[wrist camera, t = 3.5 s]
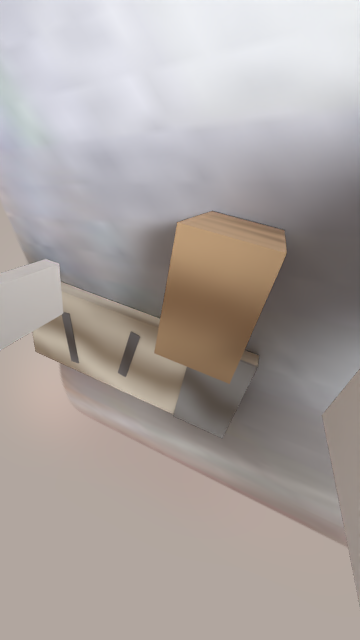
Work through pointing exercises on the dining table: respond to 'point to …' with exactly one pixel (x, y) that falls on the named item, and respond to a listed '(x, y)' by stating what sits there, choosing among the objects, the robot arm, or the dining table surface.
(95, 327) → the board
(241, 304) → the brown cardboard box
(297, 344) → the dining table surface
